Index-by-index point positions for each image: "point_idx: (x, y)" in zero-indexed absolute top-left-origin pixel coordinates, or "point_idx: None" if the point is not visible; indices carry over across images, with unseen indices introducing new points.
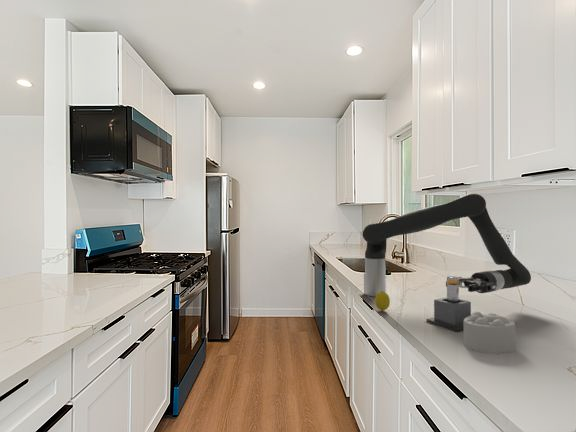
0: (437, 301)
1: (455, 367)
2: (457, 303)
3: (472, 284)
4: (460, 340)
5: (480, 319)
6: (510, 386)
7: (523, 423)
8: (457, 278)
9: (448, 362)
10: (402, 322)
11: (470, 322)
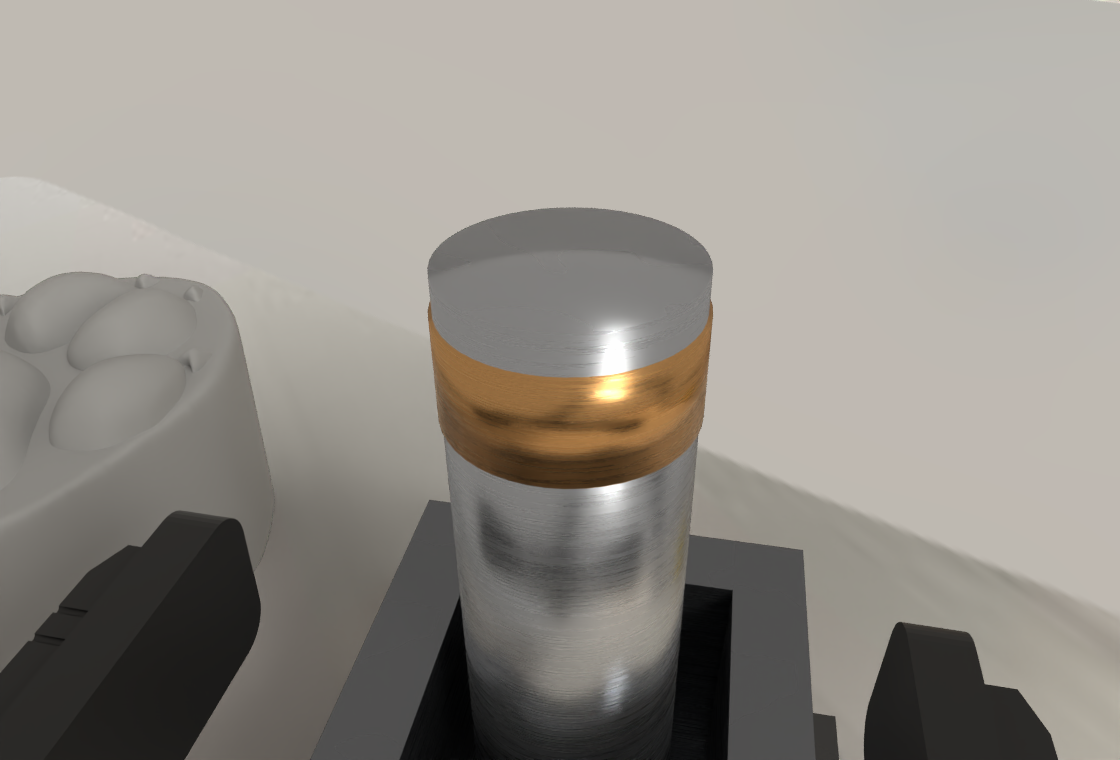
0: (732, 551)
1: (244, 273)
2: (432, 583)
3: (128, 649)
4: (311, 523)
5: (77, 272)
6: (10, 272)
7: (10, 179)
8: (434, 253)
9: (286, 286)
10: (923, 556)
11: (168, 287)
